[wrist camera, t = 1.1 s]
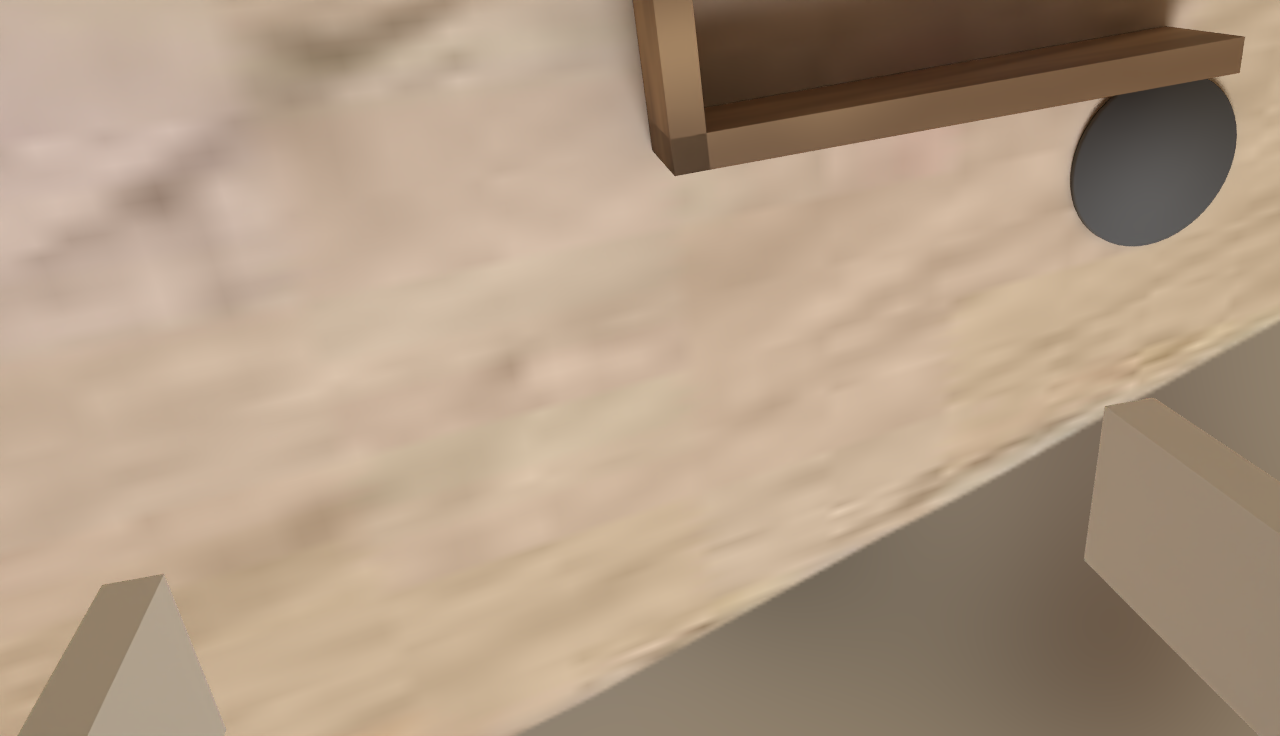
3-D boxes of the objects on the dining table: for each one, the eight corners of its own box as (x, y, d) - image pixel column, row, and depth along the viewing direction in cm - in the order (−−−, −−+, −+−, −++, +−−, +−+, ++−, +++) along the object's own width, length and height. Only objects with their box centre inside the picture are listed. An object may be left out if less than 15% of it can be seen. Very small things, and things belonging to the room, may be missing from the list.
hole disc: (1077, 87, 36) (1081, 88, 35) (1242, 57, 36) (1249, 58, 36) (1064, 258, 39) (1069, 260, 38) (1218, 227, 39) (1223, 229, 39)
